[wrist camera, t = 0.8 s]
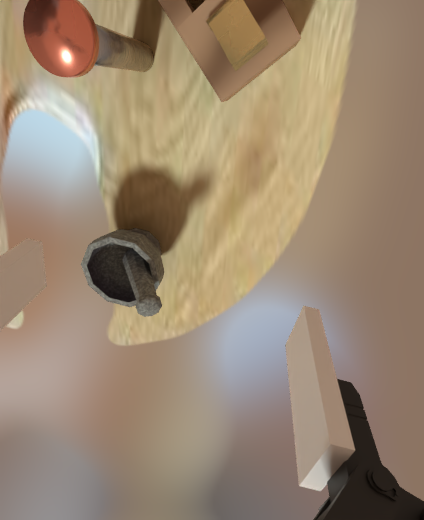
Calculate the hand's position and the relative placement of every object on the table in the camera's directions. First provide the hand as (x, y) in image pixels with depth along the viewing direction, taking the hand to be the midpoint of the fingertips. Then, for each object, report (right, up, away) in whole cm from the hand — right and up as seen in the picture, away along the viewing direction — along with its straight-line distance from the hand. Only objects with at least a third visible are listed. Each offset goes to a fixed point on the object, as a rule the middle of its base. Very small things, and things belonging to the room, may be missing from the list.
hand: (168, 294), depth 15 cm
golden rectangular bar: (+4, +20, +9) cm, 22 cm away
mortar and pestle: (-7, +3, +28) cm, 29 cm away
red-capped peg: (-5, +23, +17) cm, 29 cm away
